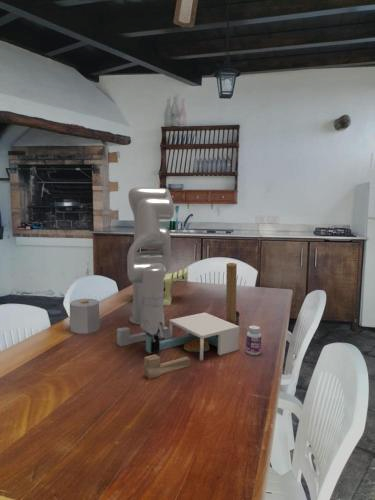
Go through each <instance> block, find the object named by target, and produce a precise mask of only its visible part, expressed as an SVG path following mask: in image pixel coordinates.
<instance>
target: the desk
mask: <svg viewBox="0 0 375 500" xmlns="http://www.w3.org/2000/svg"><path fill="white" fill-rule="evenodd" d="M225 320H226V319H225ZM225 320H224V319H221V318H219V317H217V316H214V315H213V314H210V313H208V312H200V313H196V314H191V315H185V316H182V317H176V318H170V319H168V323H169V338H168V339H171V338H174V337H173V336H174V334H173V333H174V332H173V331H174V329H173V328H174V326H175V327H178V328H180V329H182V330H184V331H185V332H186V335H188V334H193V335H195V336H197V337H199V338H200V352H199V361H204V352H205V351H204V338H207V337H211V336H214V335H218V347H217V355H219V356H222V355H226V354H229V353H232V352H235V351H239V349H240V343H239V342H240V325H238V326H237V325H235V324H232V323H230V322H227V321H225Z"/></svg>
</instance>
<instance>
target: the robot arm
mask: <svg viewBox="0 0 375 500" xmlns="http://www.w3.org/2000/svg"><path fill="white" fill-rule="evenodd" d="M127 197H128V203H129V206H130V209H131V212H132V214H133V233H134V234H133V240H134V241H133V242H132V244H131V245H130V247H129V249H128V253H127V258H126V259H127V261H126V264H127V278H128V280H129V282H131V283H132V308H131V310H130V311H131V312H132V315H131V316H130V317H129V322H130V323H131V324H134V325H138V326H140V327H139V328H141V330H142V331H144V332H145V337H146V335H148V334H151V335H152V341H151V352H153V353H157V352H160V351H161V350H160V341H161V339H164V338H163V337H164V334H163V332H164V326H165V312H164V311H165V310H164V305H163V301H164V297H165V291H164V287H165V282H164V278H165V276H166V274H167V272H169V270H170V269H171V252H172V251H171V247H172V246H171V245H172V243H171V232H170V230H169V229H168V228H167V227H164V226H162V227H161V226H160V225H161V224H160V221H161V220H166V221H167V220H171V219H172V218H174V213H175V206H174V205H175V204H174V201H173V197H172V194H171V192H170V190H169V189H168V188H164V187H144V186H143V187H133V188H130V190H129V191H128V196H127ZM140 249H143V250H145V249H147V250H148V249H152V250H153V249H157V250H158V251H151V250H150V251H138V250H140ZM159 250H160V251H159ZM157 331H158V332H157ZM155 335H157V336H156V337H155ZM156 351H157V352H156Z"/></svg>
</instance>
